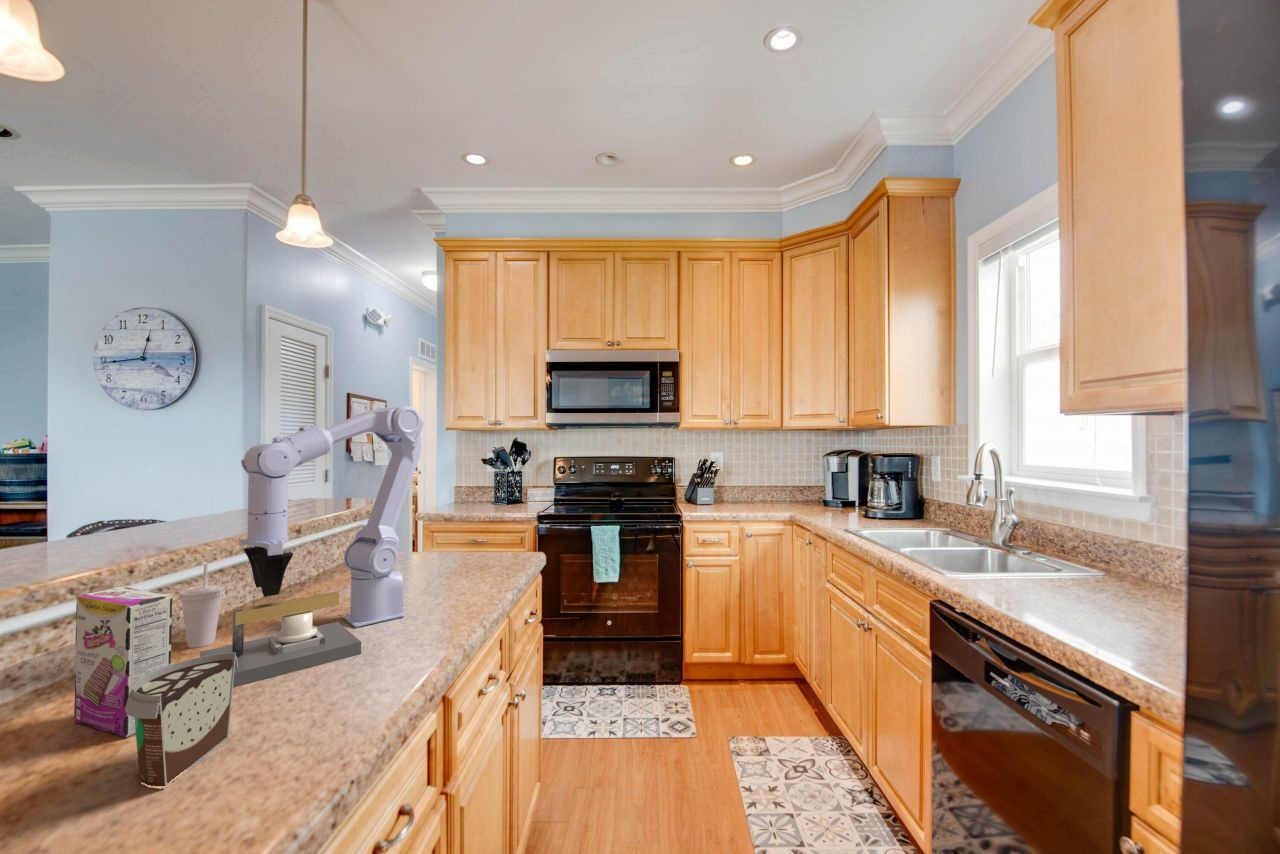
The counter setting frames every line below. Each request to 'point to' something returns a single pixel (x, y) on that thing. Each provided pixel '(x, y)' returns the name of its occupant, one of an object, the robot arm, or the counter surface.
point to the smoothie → (201, 612)
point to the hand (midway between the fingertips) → (267, 590)
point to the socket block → (290, 653)
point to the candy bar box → (117, 652)
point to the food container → (181, 714)
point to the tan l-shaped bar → (276, 613)
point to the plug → (296, 628)
